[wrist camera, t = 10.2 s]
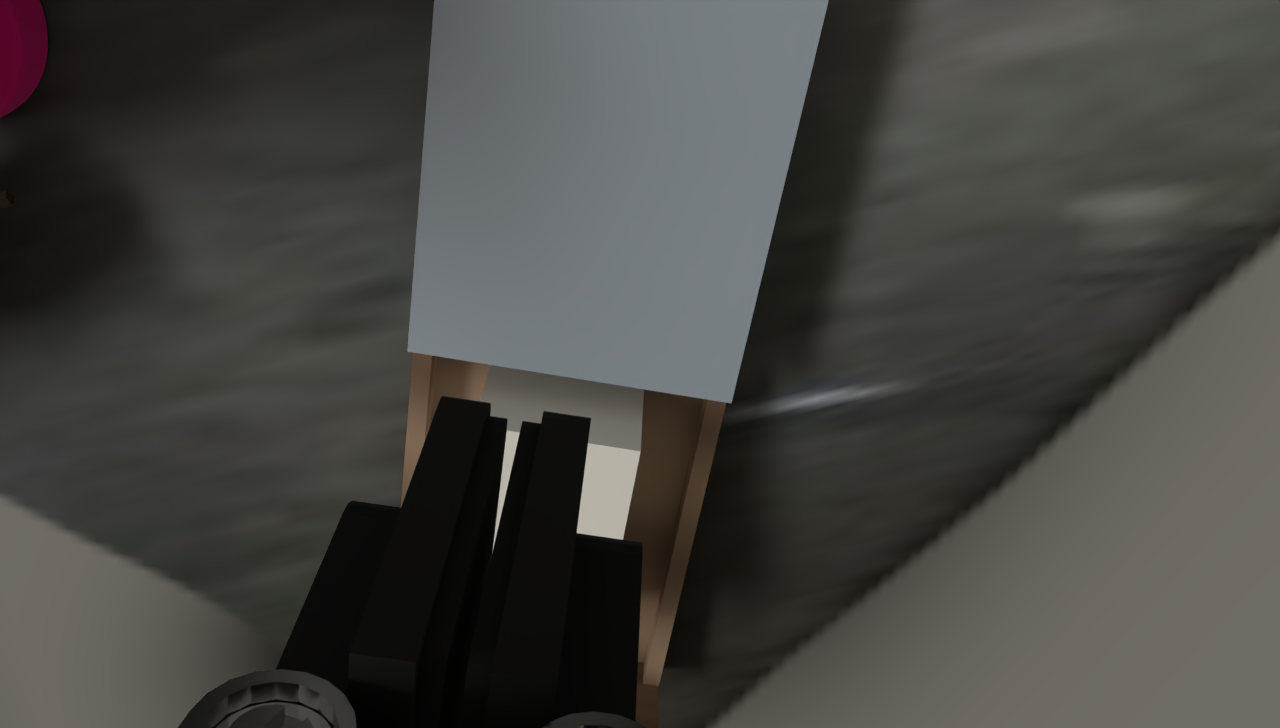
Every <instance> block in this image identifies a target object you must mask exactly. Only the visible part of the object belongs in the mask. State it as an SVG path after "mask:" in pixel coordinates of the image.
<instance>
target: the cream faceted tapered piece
mask: <svg viewBox="0 0 1280 728" xmlns="http://www.w3.org/2000/svg"><path fill="white" fill-rule="evenodd" d="M13 203H14V196H13V195H12V194H11V193H10V192H9V191H8V190H7V189H6V190H4V191H1V192H0V210H1V209H4V208H7V207H10V206H13Z"/></svg>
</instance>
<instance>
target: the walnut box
mask: <svg viewBox="0 0 1280 728" xmlns="http://www.w3.org/2000/svg"><path fill="white" fill-rule="evenodd" d="M490 367H491V365H488V364H482V363H476V362H470V361H463V360H457V359H451V358H445V357H438V356H432V355H426V354H420V353H413V358H412V371H411V384H410V396H409V409H408V421H407V434H406V447H405V459H404V472H403V485H402V497H401V506H402V504H403V501H404V498H405V495H406V493H407V490H408V487H409V484H410V481H411V479H412V476H413V473H414V470H415V467H416V465H417V462H418V459H419V456H420V453H421V451H422V448H423V445H424V442H425V439H426V437H427V434H428V431H429V428H430V425H431V423H432V420H433V417H434V414H435V411H436V409H437V406H438V403H439V400H440V398H441V397H442V396H447V397H454V398H460V399H467V400H474V401H480V400H481V396H482V393H483V390H484V386H485V383H486V380H487V376H488V373H489V370H490ZM725 407H726V402H720V401H713V400H707V399H701V398H695V397H688V396H682V395H676V394H670V393H663V392H657V391H651V390H645V389H644V398H643V417H642V436H641V452H640V457H639V462H638V467H637V472H636V477H635V482H634V487H633V492H632V497H631V502H630V507H629V512H628V517H627V522H626V527H625V532H624V537H623V540H628V541H635V542H642V545H643V560H642V583H641V606H640V628H639V651H638V674H637V696H636V719H635V722H637V723H640V724H642V725H643V726H644V727H646V728H658V700H659V683H660V679H661V675H662V671H663V666H664V662H665V658H666V654H667V650H668V645H669V641H670V637H671V633H672V629H673V625H674V620H675V616H676V612H677V608H678V604H679V599H680V595H681V591H682V587H683V583H684V578H685V574H686V570H687V566H688V562H689V558H690V553H691V549H692V545H693V541H694V537H695V532H696V528H697V524H698V520H699V516H700V511H701V507H702V503H703V499H704V495H705V490H706V486H707V482H708V478H709V474H710V470H711V465H712V461H713V457H714V453H715V449H716V444H717V440H718V436H719V432H720V428H721V423H722V419H723V415H724V411H725Z"/></svg>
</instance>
